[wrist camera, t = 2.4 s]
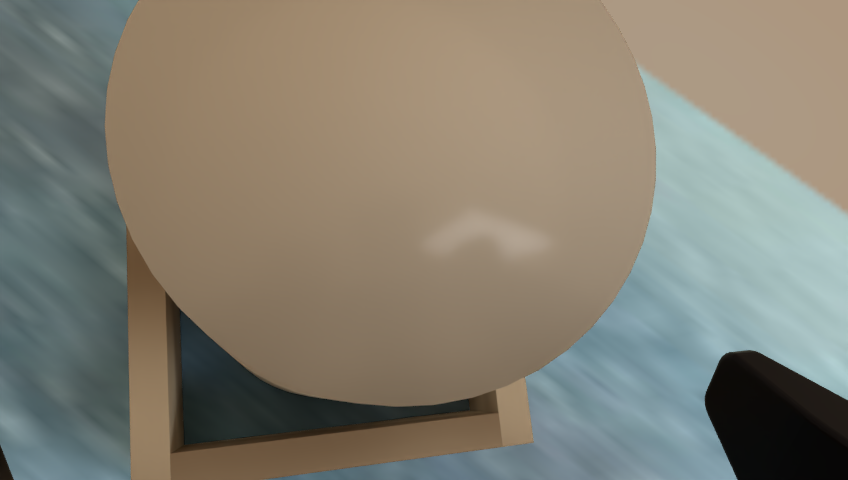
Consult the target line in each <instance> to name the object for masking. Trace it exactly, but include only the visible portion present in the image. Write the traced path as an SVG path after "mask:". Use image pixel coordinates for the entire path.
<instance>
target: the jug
mask: <svg viewBox="0 0 848 480" xmlns="http://www.w3.org/2000/svg"><path fill="white" fill-rule="evenodd" d="M105 133H106V145H107V156H108V165H109V170H110V174H111V178H112V182H113V186H114V190H115V195H116V199H117V203H118V205H119V208H120V210H121V213H122V215H123V218H124V220H125V223H126V225H127V227H128V230H129V232H130V235H131V237H132V240H133V241H134V243H135V245H136V247H137V248H138V250H139V252H140V254H141V255H142V257H143V259H144V260H145V262H146V264H147V266H148V267H149V269H150V271H151V273H152V274H153V276H154V277H155V278H156V279H157V281H158V282H159V283H160V284H161V286H162V287H163V288H164V290H165V291H166V292H167V293H168V295H169V296H170V297H171V298H172V300H173V301H174V302H175V304H176V305H177V306H178V307H179V308H180V309H181V310H182V311H183V312H184V313H185V314H186V315H187V316H188V317H189V318H190V319H191V320H192V321H193V322H194V323H195V324H196V325H197V326H199V327H200V328H201V329H202V330H203V331H204V332H205V333H206V334H207V335H208V336H209V337H210V338H211V339H212V340H214V341H215V342H216V343H217V344H218V345H219V346H221V347H222V348H223V349H224V350H225V351H226V352H227V353H229V354H230V355H231V356H232V357H233V358H234V359H236V360H237V361H238V362H239V363H240V364H241V365H242V366H244V367H245V368H246V369H247V370H248V371H249V372H251V373H252V374H254V375H255V376H256V377H258V378H259V379H260V380H262V381H264V382H266V383H268V384H270V385H271V386H273V387H276V388H278V389H281V390H284V391H286V392H290V393H294V394H298V395H303V396H310V397H317V398H324V399H331V400H337V401H344V402H351V403H359V404H370V405H382V406H393V407H401V406H422V405H437V404H442V403H447V402H452V401H458V400H463V399H468V398H473V397H476V396H479V395H482V394H485V393H488V392H491V391H494V390H497V389H499V388H502V387H505V386H508V385H510V384H512V383H514V382H516V381H518V380H520V379H522V378H524V377H526V376H528V375H530V374H532V373H534V372H536V371H538V370H539V369H541V368H542V367H544V366H545V365H547V364H548V363H549V362H551V361H552V360H554V359H555V358H557V357H558V356H559V355H561V354H562V353H564V352H565V351H567V350H568V349H569V348H570V347H571V346H572V345H573V344H574V343H575V342H577V341H578V340H579V339H580V338H581V337H582V336H583V335H584V334H585V333H586V332H587V331H588V330H589V329H590V328H592V327H593V325H594V324H595V323H596V322H597V320H598V319H599V318H600V317H601V315H602V314H603V313H604V312H605V311H606V309H607V308H608V307H609V306H610V304H611V303H612V302H613V301H614V299H615V297H616V296H617V294H618V292H619V291H620V289H621V287H622V286H623V284H624V282H625V281H626V279H627V277H628V276H629V274H630V272H631V270H632V267H633V265H634V263H635V260H636V258H637V256H638V253H639V251H640V249H641V246H642V244H643V241H644V237H645V233H646V230H647V226H648V222H649V219H650V215H651V211H652V204H653V196H654V189H655V181H656V146H655V137H654V129H653V121H652V115H651V111H650V107H649V102H648V98H647V94H646V90H645V86H644V84H643V81H642V78H641V75H640V73H639V70H638V67H637V65H636V62H635V59H634V57H633V55H632V53H631V51H630V49H629V47H628V45H627V43H626V41H625V39H624V37H623V35H622V33H621V31H620V29H619V28H618V26H617V24H616V23H615V22H614V20H613V18H612V17H611V15H610V14H609V12H608V11H607V9H606V8H605V6H604V5H603V3H602V2H601V1H600V0H139V1H138V2H137V4H136V6H135V8H134V9H133V11H132V13H131V15H130V16H129V18H128V20H127V23H126V25H125V28H124V31H123V33H122V36H121V39H120V41H119V44H118V46H117V49H116V52H115V55H114V60H113V64H112V69H111V73H110V78H109V83H108V87H107V100H106V116H105Z"/></svg>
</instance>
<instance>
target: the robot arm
mask: <svg viewBox="0 0 848 480" xmlns="http://www.w3.org/2000/svg"><path fill="white" fill-rule="evenodd" d="M705 406H706V410H707V413H708V416H709V418H710V420H711V422H712V424H713V427H714V429H715V431H716V433H717V435H718V438H719V440H720V442H721V444H722V446H723V449H724V451H725V453H726V455H727V457H728V460H729V462H730V464H731V466H732V468H733V471H734V473H735V475H736V477H737V479H738V480H848V400H846V399H844V398H842V397H840V396H839V395H837V394H835V393H833V392H831V391H829V390H828V389H826V388H824V387H822V386H820V385H818V384H816V383H815V382H813V381H811V380H809V379H807V378H805V377H803V376H802V375H800V374H798V373H796V372H794V371H792V370H790V369H789V368H787V367H785V366H783V365H781V364H779V363H777V362H776V361H774V360H772V359H770V358H768V357H766V356H764V355H763V354H761V353H759V352H756V351H751V350H746V351H737V352H729V353H726V354H725V355H724V356H722V357H721V359H720V361H719V363H718V365H717V368H716V370H715V372H714V375H713V377H712V379H711V382H710V384H709V386H708V389H707V391H706V394H705ZM0 480H14V479H13V477H12V474H11V471H10V469H9V466H8V464H7V461H6V458H5V456H4V453H3V451H2V448H1V446H0Z"/></svg>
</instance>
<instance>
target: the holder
mask: <svg viewBox="0 0 848 480" xmlns="http://www.w3.org/2000/svg"><path fill="white" fill-rule="evenodd" d="M126 229H127V285H128V340H129V395H130V451H131V480H263V479H270V478H278V477H285V476H292V475H300V474H307V473H314V472H322V471H329V470H336V469H344V468H351V467H358V466H366V465H373V464H380V463H388V462H395V461H402V460H410V459H417V458H424V457H431V456H439V455H446V454H453V453H461V452H468V451H475V450H483V449H490V448H497V447H505V446H512V445H519V444H527V443H534V442H533V434H532V427H531V419H530V411H529V404H528V396H527V389H526V381H525V377H524V378H522V379H520V380H518V381H516V382H514V383H512V384H510V385H508V386H505V387H502V388H499V389H497V390H494V391H491V392H488V393H485V394H482V395H479V396H476V397H473V398H469V406H470V410H467V411H458V412H450V413H442V414H434V415H425V416H417V417H409V418H401V419H393V420H384V421H376V422H368V423H360V424H351V425H343V426H335V427H327V428H319V429H310V430H302V431H294V432H286V433H278V434H269V435H261V436H253V437H245V438H236V439H228V440H220V441H212V442H204V443H195V444H187V445H184V425H183V395H182V365H181V334H180V308H179V307H178V306H177V305H176V304H175V302H174V301H173V300H172V298H171V297H170V296H169V295H168V293H167V292H166V291H165V290H164V288H163V287H162V286H161V284H160V283H159V282H158V281H157V279H156V278H155V277H154V276H153V274H152V273H151V271H150V269H149V267H148V266H147V264H146V262H145V260H144V259H143V257H142V255H141V254H140V252H139V250H138V248H137V247H136V245H135V243H134V241H133V240H132V237H131V235H130V232H129V230H128V227H127V225H126Z"/></svg>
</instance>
